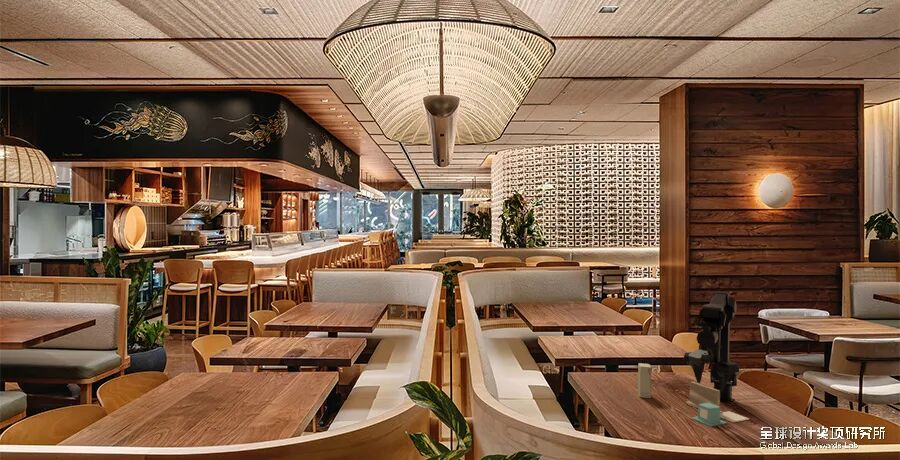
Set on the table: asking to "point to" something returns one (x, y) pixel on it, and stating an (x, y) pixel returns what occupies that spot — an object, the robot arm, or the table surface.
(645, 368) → the skincare box
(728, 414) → the ivory coaster
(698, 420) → the teal coaster
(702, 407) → the cube
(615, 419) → the table surface
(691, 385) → the screen
